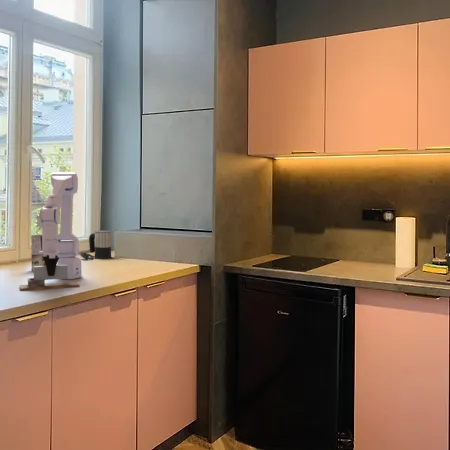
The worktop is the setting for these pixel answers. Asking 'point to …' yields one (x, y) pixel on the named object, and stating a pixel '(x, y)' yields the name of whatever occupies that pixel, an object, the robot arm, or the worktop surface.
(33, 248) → the coffee box
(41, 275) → the rail
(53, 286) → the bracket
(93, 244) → the milk frother
